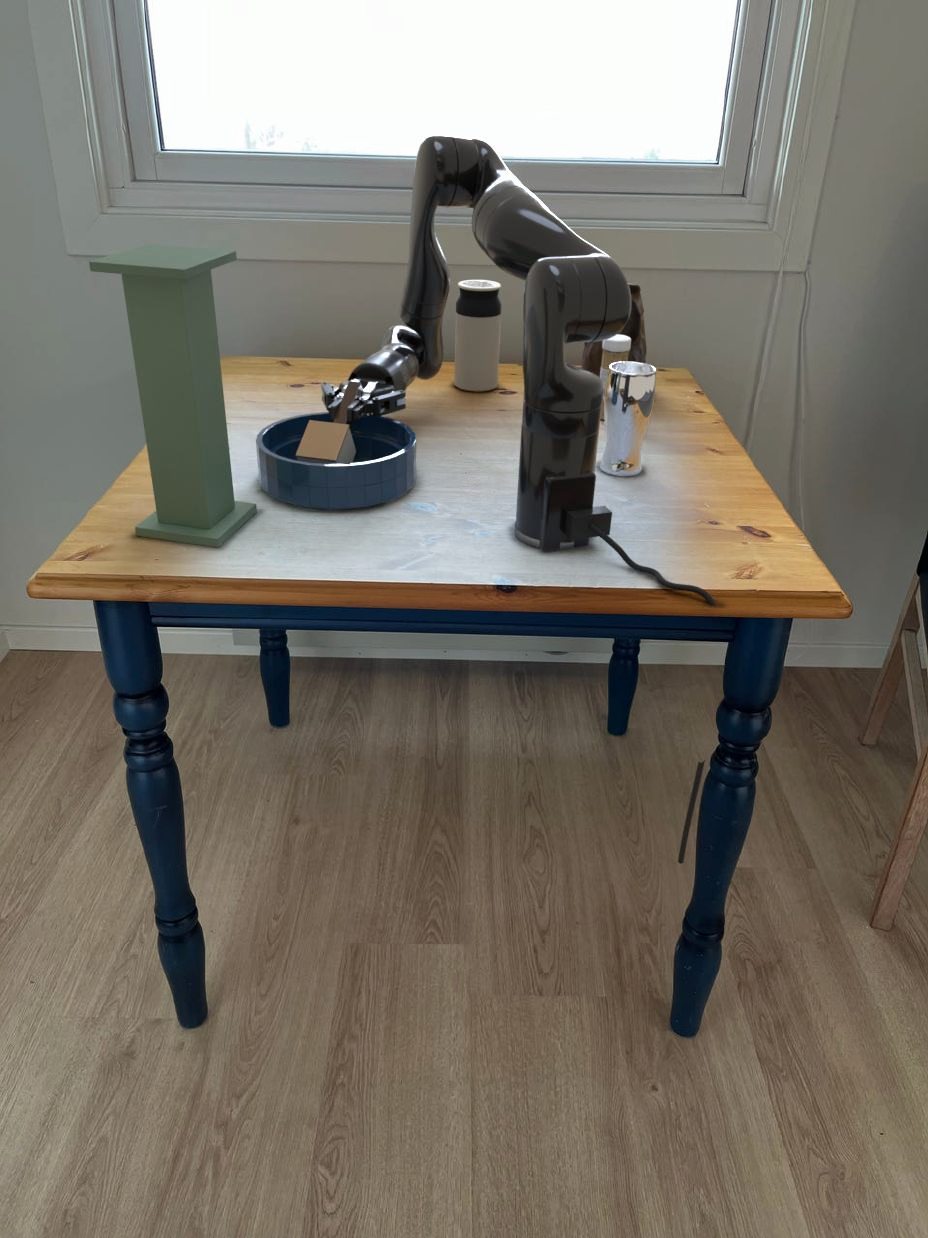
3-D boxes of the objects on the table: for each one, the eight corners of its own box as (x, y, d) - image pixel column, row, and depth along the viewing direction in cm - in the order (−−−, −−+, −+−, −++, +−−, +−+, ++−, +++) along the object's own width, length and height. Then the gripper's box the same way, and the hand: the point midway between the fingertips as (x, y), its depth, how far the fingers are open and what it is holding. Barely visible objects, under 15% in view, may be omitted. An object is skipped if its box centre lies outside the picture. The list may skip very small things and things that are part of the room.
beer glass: (616, 456, 144) (627, 358, 137) (653, 469, 140) (668, 368, 132) (587, 467, 140) (597, 366, 132) (625, 481, 136) (638, 377, 128)
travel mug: (474, 395, 169) (477, 290, 160) (445, 384, 174) (447, 282, 165) (506, 387, 173) (511, 285, 164) (477, 377, 178) (481, 277, 169)
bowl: (435, 503, 127) (436, 457, 124) (273, 521, 121) (270, 473, 118) (392, 448, 145) (392, 406, 141) (249, 461, 138) (245, 418, 135)
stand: (182, 500, 126) (148, 243, 109) (258, 510, 124) (236, 250, 107) (133, 537, 116) (88, 261, 99) (216, 549, 113) (184, 269, 97)
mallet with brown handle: (339, 391, 136) (331, 364, 131) (376, 395, 135) (369, 368, 130) (305, 480, 128) (295, 455, 124) (344, 486, 127) (335, 460, 123)
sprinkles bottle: (627, 418, 160) (637, 338, 153) (607, 423, 158) (616, 341, 151) (609, 411, 163) (618, 331, 156) (589, 415, 161) (597, 334, 154)
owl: (638, 406, 166) (653, 287, 156) (567, 398, 168) (577, 281, 158) (646, 386, 176) (660, 274, 166) (579, 379, 179) (589, 268, 169)
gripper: (337, 350, 144) (292, 383, 129) (424, 359, 141) (388, 393, 127) (339, 399, 148) (295, 435, 133) (424, 408, 145) (389, 447, 131)
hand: (341, 415), depth 130 cm, fingers closed on mallet with brown handle
